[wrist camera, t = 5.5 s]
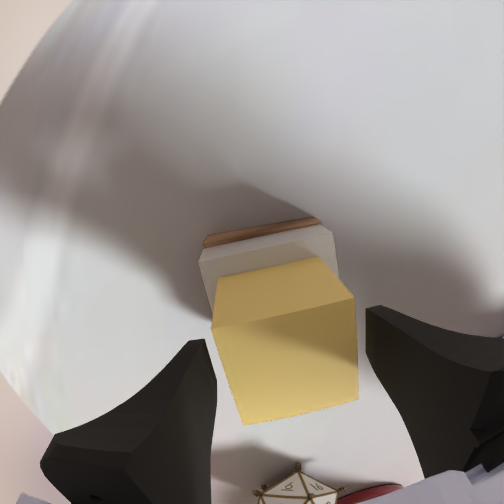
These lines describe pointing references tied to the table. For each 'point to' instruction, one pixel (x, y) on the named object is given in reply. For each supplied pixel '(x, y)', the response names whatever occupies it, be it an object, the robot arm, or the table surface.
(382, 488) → the canister
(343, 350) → the mustard cube
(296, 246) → the tower top slab
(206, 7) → the table surface
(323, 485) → the game die
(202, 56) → the table surface
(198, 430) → the robot arm
